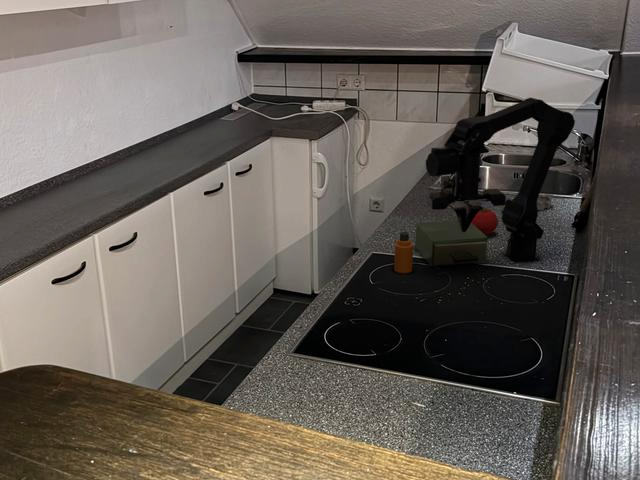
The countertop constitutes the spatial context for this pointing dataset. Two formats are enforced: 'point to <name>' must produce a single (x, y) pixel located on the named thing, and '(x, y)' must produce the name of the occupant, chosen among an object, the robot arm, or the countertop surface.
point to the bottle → (403, 254)
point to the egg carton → (543, 201)
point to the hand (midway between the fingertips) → (463, 231)
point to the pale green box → (444, 237)
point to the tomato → (485, 221)
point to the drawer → (460, 252)
